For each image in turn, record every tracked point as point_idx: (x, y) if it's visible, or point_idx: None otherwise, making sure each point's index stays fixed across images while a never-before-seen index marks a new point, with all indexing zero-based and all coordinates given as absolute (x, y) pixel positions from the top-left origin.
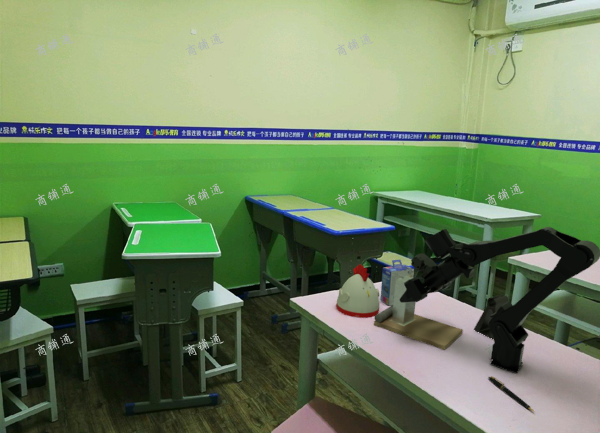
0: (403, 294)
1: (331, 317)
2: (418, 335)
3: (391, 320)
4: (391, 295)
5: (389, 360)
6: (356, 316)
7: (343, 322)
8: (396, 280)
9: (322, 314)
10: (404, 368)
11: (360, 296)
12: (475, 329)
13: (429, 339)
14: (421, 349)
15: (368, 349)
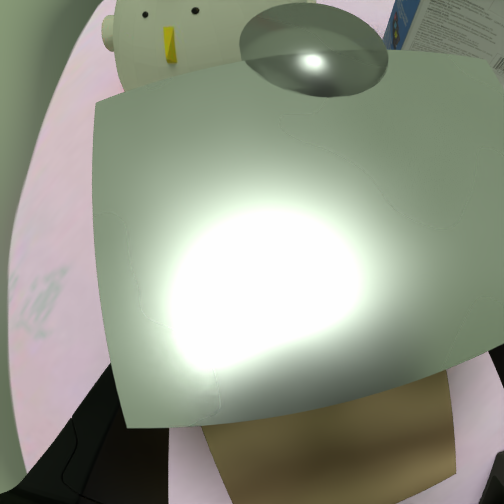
0: (83, 405)
1: (77, 100)
2: (222, 447)
3: None
4: None
5: (31, 444)
6: None
7: (73, 147)
8: (100, 120)
9: (76, 76)
10: None
11: (131, 54)
12: (498, 461)
13: (238, 492)
14: (170, 488)
15: (12, 361)
